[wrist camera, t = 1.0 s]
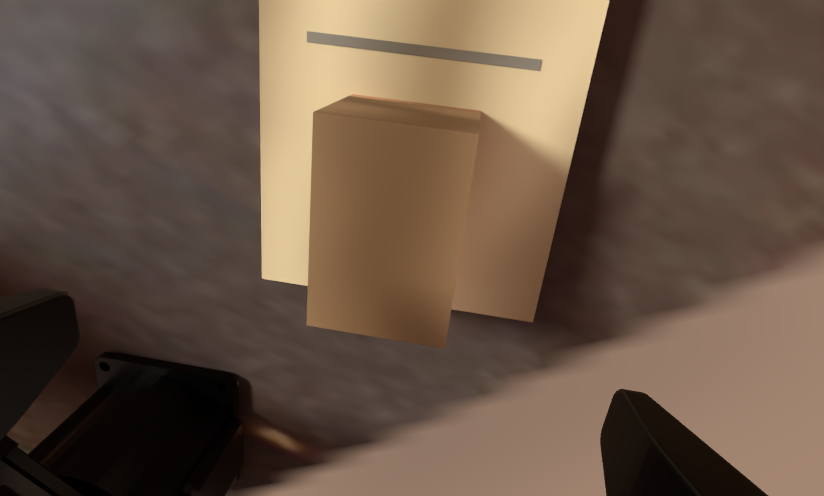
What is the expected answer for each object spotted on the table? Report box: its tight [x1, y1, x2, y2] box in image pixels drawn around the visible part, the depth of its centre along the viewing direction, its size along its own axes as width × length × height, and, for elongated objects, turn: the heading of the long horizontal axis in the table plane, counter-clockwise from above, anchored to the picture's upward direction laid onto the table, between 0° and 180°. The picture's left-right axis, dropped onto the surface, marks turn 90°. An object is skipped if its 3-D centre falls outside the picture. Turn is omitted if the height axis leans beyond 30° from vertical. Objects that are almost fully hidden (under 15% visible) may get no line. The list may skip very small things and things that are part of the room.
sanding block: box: [307, 94, 481, 348], centre depth 15 cm, size 4×6×4 cm, turn 174°
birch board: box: [259, 0, 609, 322], centre depth 16 cm, size 10×18×2 cm, turn 174°
